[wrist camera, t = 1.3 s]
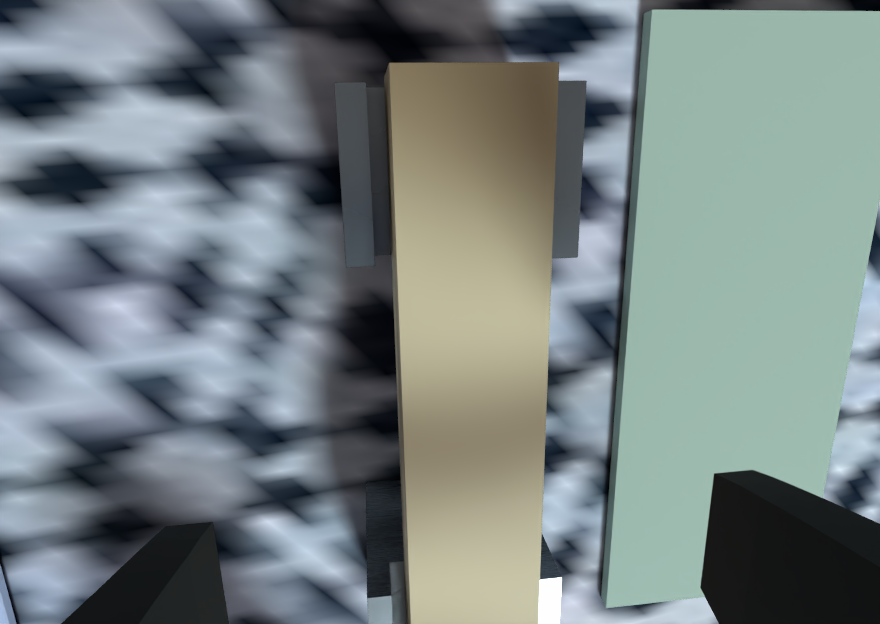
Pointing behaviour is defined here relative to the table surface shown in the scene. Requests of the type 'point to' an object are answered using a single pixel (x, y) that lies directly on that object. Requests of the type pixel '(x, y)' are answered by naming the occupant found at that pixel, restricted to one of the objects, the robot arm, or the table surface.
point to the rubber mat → (736, 271)
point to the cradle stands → (371, 236)
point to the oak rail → (471, 330)
